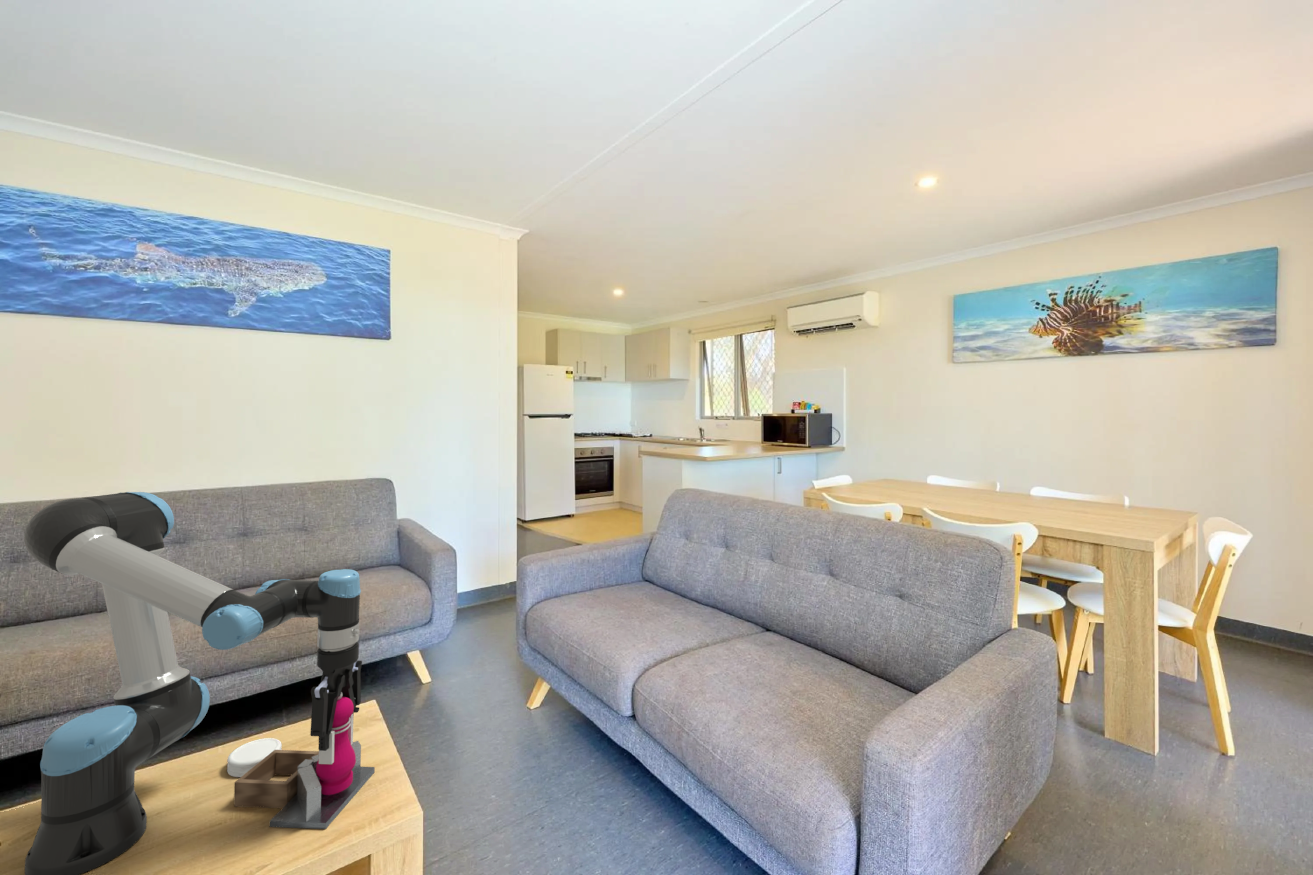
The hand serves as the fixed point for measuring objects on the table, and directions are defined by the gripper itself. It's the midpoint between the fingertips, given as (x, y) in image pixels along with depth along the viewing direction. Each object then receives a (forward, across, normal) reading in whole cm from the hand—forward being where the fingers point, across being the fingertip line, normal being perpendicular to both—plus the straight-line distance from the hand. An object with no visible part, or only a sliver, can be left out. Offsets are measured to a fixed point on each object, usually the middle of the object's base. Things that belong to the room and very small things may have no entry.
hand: (336, 752), depth 110 cm
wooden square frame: (+10, +2, +13) cm, 17 cm away
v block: (+10, 0, +2) cm, 10 cm away
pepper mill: (+7, 0, 0) cm, 7 cm away
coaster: (+10, +10, +25) cm, 29 cm away
